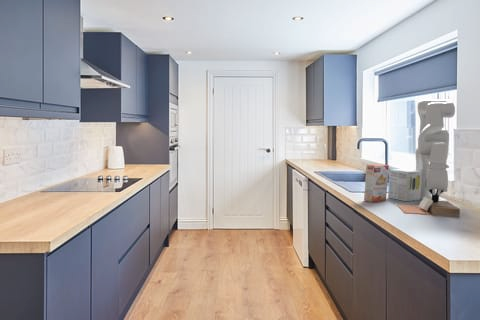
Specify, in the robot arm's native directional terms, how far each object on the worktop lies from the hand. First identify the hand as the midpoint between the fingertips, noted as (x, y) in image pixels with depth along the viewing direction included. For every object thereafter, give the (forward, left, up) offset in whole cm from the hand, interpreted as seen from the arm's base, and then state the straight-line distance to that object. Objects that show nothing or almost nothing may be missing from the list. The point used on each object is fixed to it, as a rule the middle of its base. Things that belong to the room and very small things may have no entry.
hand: (434, 202), depth 199 cm
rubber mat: (0, -10, -5) cm, 11 cm away
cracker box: (-20, -26, -5) cm, 34 cm away
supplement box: (-33, -8, -5) cm, 34 cm away
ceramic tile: (+1, -4, -1) cm, 4 cm away
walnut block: (0, +3, -5) cm, 5 cm away
